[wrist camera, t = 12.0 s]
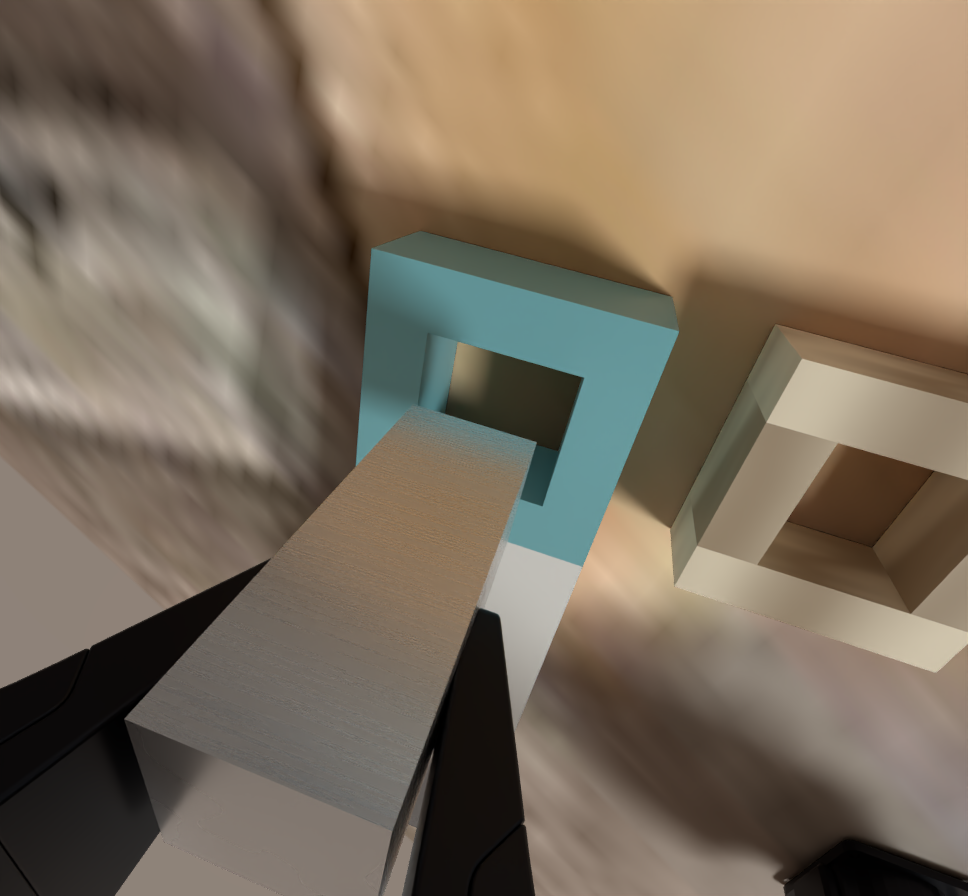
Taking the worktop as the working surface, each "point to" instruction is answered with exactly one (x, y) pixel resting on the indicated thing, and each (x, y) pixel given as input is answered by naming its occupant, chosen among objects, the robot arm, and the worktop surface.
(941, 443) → the frame
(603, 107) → the worktop surface
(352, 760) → the pin
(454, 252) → the dock
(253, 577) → the robot arm
